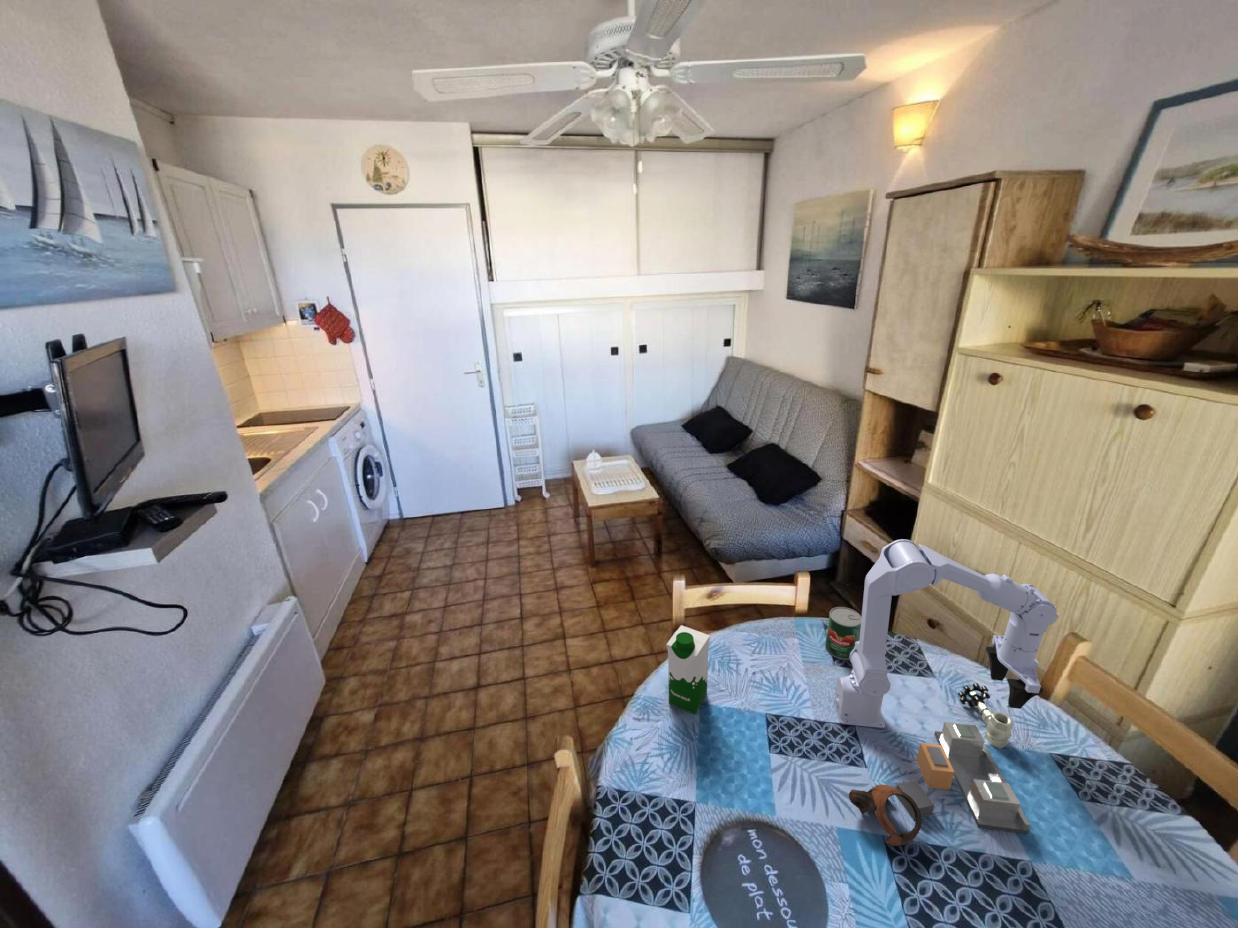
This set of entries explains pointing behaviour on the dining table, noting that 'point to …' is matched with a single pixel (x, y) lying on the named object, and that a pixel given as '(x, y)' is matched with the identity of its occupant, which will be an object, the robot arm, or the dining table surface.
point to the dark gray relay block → (915, 798)
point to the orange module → (935, 766)
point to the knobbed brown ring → (879, 798)
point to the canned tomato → (842, 632)
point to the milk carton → (688, 668)
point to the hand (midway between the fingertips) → (1005, 692)
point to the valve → (988, 716)
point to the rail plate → (965, 783)
